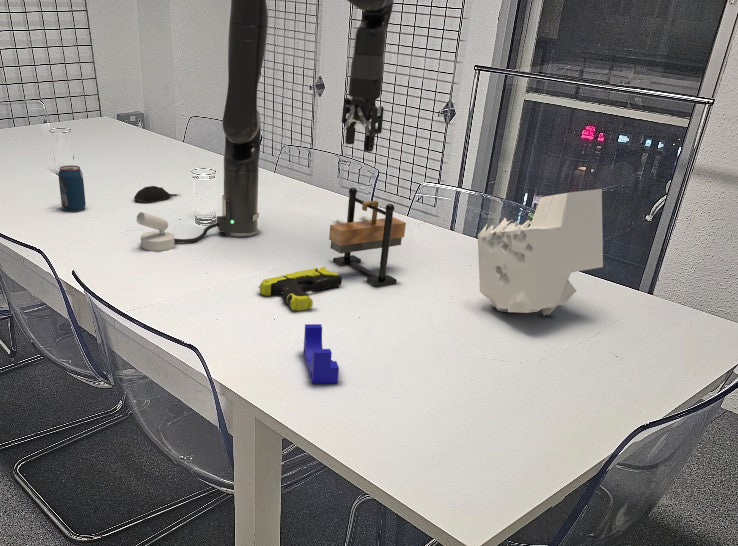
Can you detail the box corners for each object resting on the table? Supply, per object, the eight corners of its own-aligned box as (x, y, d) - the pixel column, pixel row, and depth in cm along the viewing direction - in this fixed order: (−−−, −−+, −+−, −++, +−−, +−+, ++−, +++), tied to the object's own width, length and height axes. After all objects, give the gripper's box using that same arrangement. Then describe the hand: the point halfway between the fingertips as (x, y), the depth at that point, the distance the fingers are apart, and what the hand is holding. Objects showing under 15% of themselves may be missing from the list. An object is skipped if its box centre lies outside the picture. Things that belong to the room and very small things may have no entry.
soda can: (89, 206, 223) (85, 165, 217) (82, 213, 217) (77, 171, 211) (66, 205, 224) (62, 164, 218) (58, 211, 218) (54, 169, 212)
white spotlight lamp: (127, 209, 188) (158, 202, 194) (130, 246, 193) (159, 238, 199) (149, 216, 183) (180, 209, 189) (151, 254, 188) (181, 245, 194)
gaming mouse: (181, 197, 235) (181, 184, 233) (141, 204, 227) (140, 191, 225) (171, 193, 239) (170, 180, 237) (130, 199, 231) (129, 186, 229)
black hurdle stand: (375, 287, 172) (383, 207, 163) (332, 261, 187) (338, 186, 177) (396, 283, 175) (406, 204, 165) (353, 258, 189) (359, 184, 179)
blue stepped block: (337, 383, 132) (340, 352, 129) (312, 383, 131) (314, 353, 128) (326, 353, 142) (328, 324, 139) (303, 353, 142) (305, 324, 139)
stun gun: (364, 285, 165) (323, 265, 176) (293, 301, 156) (254, 278, 167) (362, 298, 167) (322, 277, 177) (292, 314, 157) (254, 291, 168)
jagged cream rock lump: (533, 326, 148) (528, 197, 143) (477, 323, 162) (470, 205, 157) (604, 311, 157) (602, 188, 151) (545, 309, 171) (541, 197, 165)
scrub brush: (339, 254, 172) (343, 208, 166) (328, 247, 176) (331, 202, 170) (403, 245, 179) (408, 201, 174) (390, 239, 183) (396, 195, 177)
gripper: (337, 71, 178) (330, 142, 186) (369, 80, 167) (361, 154, 175) (363, 71, 181) (356, 141, 189) (397, 79, 170) (387, 153, 178)
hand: (358, 147), depth 182 cm, fingers open, 8 cm apart
